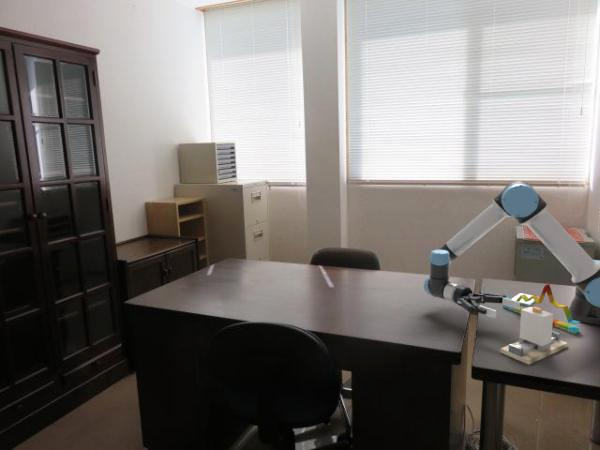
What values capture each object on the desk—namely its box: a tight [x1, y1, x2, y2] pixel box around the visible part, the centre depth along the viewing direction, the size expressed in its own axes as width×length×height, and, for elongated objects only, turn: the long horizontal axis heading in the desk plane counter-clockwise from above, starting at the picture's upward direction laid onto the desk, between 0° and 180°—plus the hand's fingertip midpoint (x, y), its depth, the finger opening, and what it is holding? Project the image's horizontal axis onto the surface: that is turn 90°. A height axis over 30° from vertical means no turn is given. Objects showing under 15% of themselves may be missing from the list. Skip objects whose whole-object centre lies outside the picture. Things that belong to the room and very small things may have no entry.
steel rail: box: [508, 330, 561, 357], centre depth 152 cm, size 22×4×2 cm, turn 121°
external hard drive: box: [511, 292, 540, 308], centre depth 198 cm, size 2×8×12 cm
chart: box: [502, 283, 581, 334], centre depth 177 cm, size 30×3×15 cm, turn 27°
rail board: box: [500, 339, 569, 365], centre depth 153 cm, size 22×10×2 cm, turn 121°
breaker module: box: [518, 306, 554, 352], centre depth 151 cm, size 5×8×13 cm, turn 31°
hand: (507, 310), depth 160 cm, fingers open, 13 cm apart
